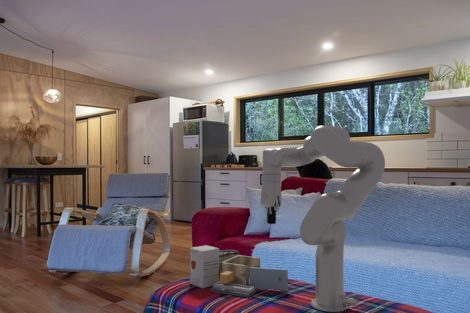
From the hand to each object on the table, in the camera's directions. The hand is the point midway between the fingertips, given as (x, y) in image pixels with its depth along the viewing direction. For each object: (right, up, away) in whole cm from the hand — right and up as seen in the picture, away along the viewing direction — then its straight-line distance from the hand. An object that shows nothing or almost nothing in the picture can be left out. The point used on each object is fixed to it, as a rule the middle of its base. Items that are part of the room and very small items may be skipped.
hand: (271, 223), depth 160 cm
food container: (-20, -26, +19) cm, 38 cm away
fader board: (-15, -25, -8) cm, 31 cm away
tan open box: (-12, -26, +5) cm, 29 cm away
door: (-3, -25, -6) cm, 26 cm away
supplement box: (-28, -26, +2) cm, 38 cm away
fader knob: (-18, -24, -7) cm, 31 cm away
